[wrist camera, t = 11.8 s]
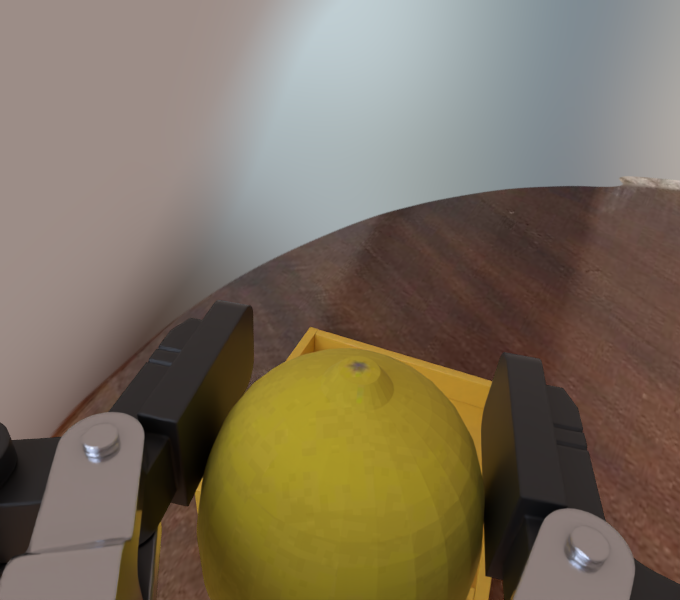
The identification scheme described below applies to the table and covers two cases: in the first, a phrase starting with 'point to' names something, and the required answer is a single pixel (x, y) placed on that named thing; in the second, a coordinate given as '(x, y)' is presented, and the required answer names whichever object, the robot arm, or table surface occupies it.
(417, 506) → the lemon
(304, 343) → the yellow tray
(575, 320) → the table surface
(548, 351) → the table surface
